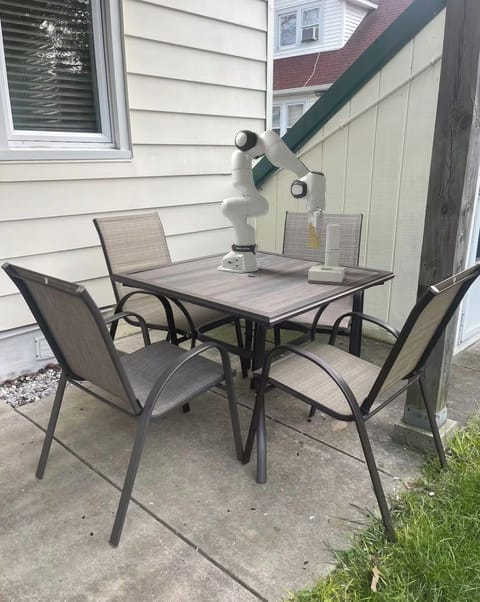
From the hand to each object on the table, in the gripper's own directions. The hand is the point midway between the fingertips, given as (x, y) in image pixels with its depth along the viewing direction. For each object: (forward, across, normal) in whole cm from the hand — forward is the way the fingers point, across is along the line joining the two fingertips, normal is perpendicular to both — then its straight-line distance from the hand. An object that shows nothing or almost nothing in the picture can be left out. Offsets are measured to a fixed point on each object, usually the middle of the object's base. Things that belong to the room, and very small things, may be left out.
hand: (315, 235), depth 232 cm
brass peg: (+6, 0, 0) cm, 6 cm away
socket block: (+22, -2, -6) cm, 23 cm away
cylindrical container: (+22, +17, -13) cm, 31 cm away
